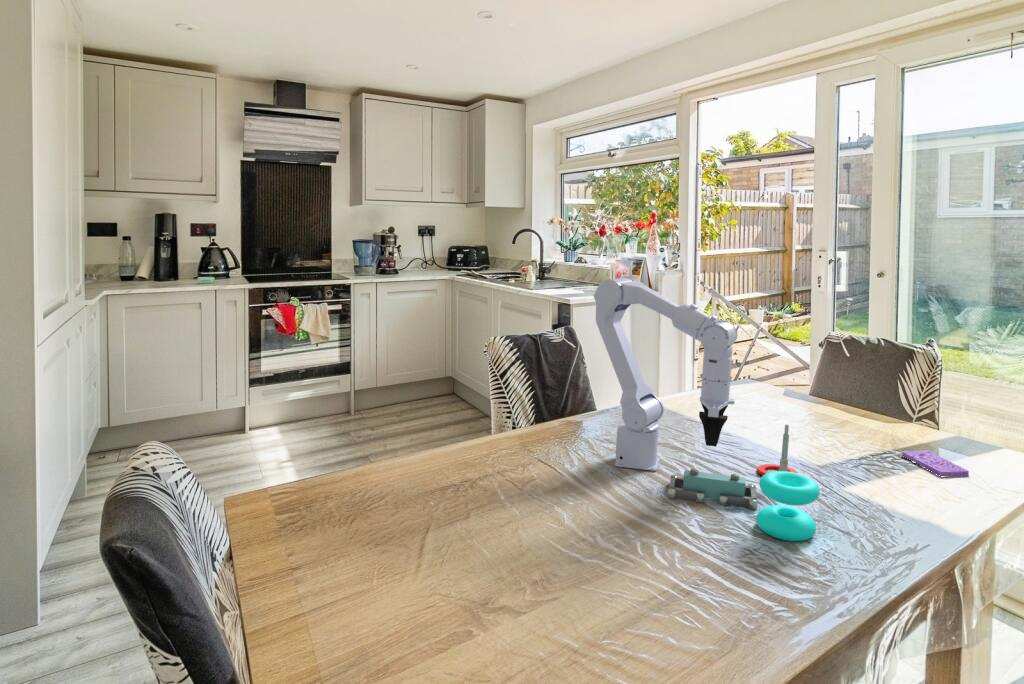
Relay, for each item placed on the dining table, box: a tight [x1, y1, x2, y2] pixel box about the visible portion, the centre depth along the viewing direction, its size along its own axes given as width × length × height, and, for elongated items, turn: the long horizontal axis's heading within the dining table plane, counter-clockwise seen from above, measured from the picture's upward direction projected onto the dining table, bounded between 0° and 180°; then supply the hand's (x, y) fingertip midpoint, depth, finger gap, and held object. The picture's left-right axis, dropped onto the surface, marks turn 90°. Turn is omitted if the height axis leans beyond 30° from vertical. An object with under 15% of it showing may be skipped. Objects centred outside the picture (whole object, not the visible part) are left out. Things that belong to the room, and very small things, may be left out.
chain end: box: [667, 474, 706, 504], centre depth 129 cm, size 7×9×2 cm
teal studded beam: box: [682, 468, 747, 501], centre depth 127 cm, size 12×3×5 cm, turn 71°
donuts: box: [756, 470, 820, 542], centre depth 112 cm, size 10×10×10 cm
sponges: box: [901, 449, 970, 477], centre depth 143 cm, size 7×13×2 cm, turn 4°
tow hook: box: [756, 424, 799, 477], centre depth 137 cm, size 8×13×9 cm
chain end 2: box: [718, 483, 759, 511], centre depth 126 cm, size 7×9×2 cm
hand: (711, 439), depth 133 cm, fingers open, 7 cm apart
